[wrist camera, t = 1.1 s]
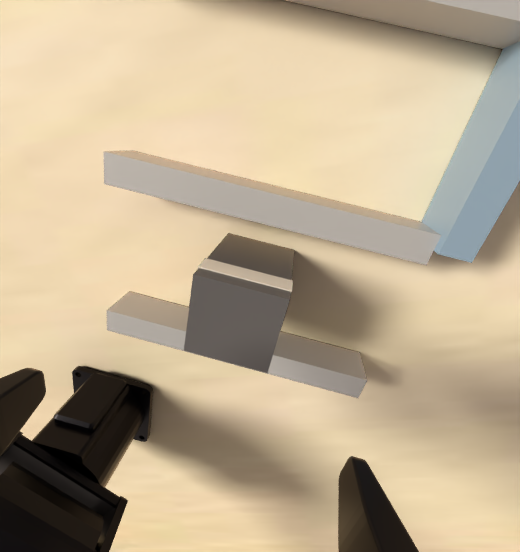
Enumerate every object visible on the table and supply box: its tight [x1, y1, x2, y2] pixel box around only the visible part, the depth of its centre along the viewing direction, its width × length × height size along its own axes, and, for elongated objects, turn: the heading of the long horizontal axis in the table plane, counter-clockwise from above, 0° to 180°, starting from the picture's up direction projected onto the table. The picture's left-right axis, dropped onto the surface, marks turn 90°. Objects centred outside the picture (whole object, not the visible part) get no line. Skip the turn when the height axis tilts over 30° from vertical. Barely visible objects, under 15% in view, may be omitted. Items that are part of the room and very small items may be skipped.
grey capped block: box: [184, 233, 295, 373], centre depth 15 cm, size 4×4×6 cm
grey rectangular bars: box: [104, 0, 520, 398], centre depth 15 cm, size 20×18×3 cm
